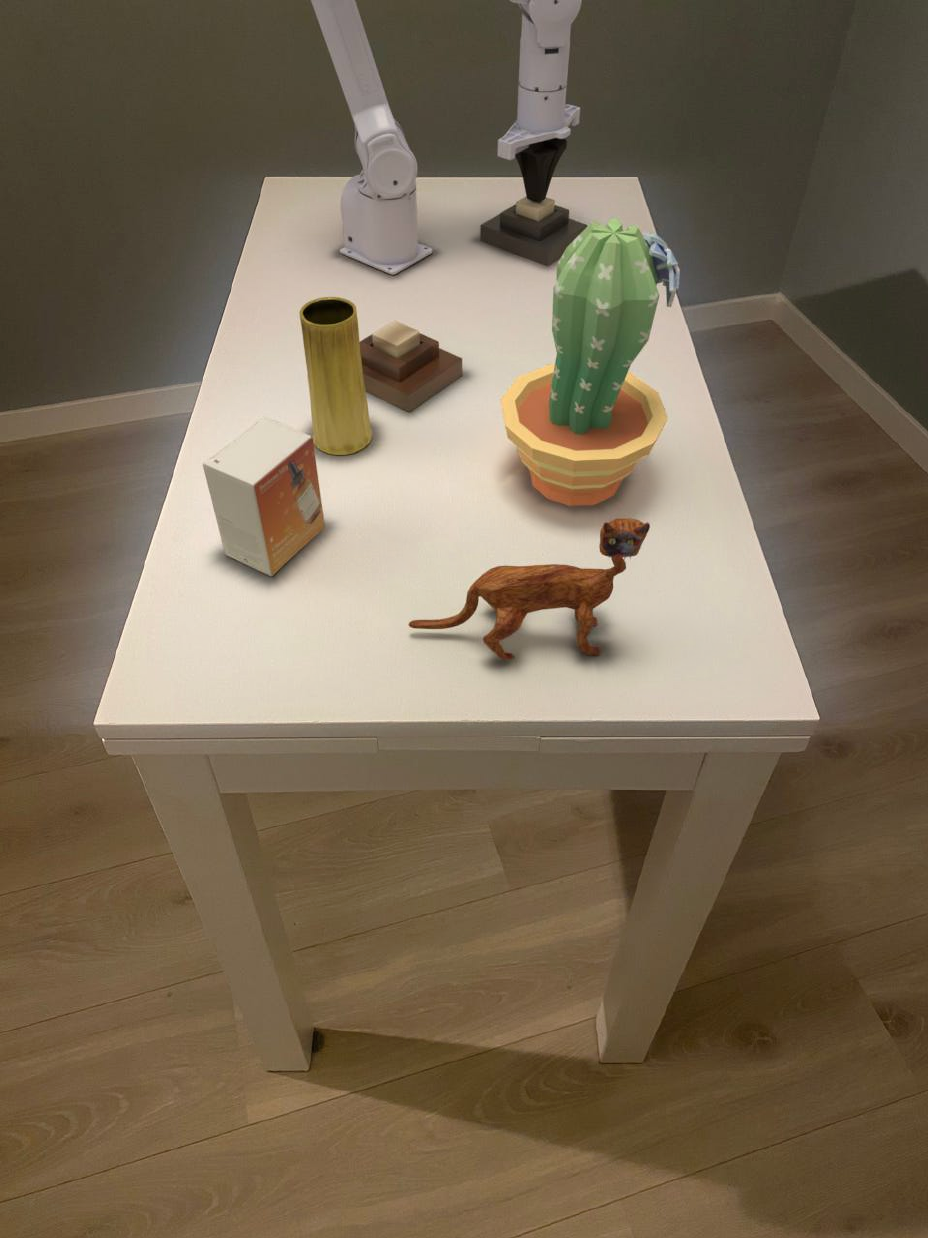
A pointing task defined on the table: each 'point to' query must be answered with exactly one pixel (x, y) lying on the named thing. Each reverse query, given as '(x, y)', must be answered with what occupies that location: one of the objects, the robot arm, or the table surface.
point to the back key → (535, 208)
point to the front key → (396, 339)
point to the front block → (408, 372)
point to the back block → (532, 234)
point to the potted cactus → (594, 368)
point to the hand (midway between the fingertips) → (535, 198)
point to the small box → (266, 495)
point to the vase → (335, 376)
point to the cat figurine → (549, 589)
